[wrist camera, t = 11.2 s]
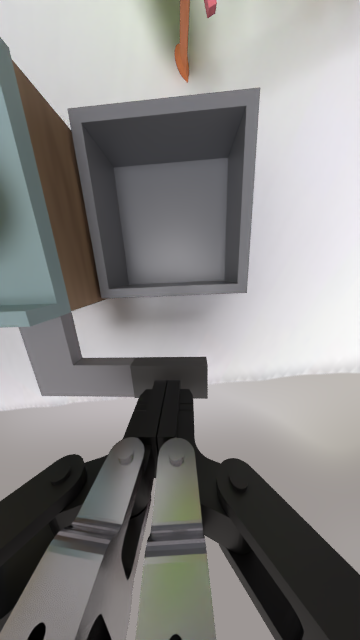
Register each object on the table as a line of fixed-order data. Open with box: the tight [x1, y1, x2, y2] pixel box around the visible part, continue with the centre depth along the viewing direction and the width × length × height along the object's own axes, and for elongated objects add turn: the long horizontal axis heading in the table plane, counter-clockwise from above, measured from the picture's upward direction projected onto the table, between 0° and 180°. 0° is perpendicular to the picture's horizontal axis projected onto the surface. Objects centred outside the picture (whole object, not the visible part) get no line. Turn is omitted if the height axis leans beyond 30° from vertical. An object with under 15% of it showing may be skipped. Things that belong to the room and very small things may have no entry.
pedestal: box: [12, 60, 108, 311], centre depth 15 cm, size 10×13×10 cm
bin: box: [68, 88, 260, 298], centre depth 16 cm, size 13×13×6 cm
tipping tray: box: [0, 38, 207, 398], centre depth 9 cm, size 19×19×3 cm
